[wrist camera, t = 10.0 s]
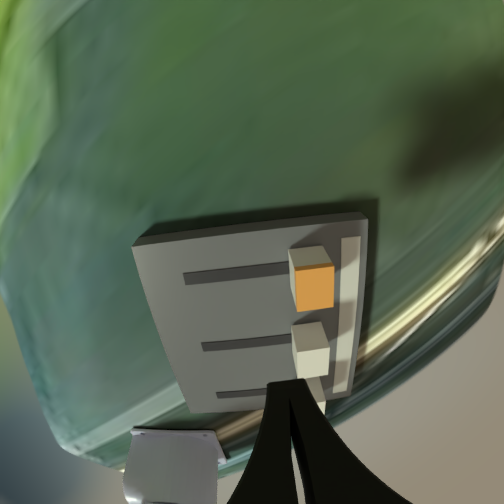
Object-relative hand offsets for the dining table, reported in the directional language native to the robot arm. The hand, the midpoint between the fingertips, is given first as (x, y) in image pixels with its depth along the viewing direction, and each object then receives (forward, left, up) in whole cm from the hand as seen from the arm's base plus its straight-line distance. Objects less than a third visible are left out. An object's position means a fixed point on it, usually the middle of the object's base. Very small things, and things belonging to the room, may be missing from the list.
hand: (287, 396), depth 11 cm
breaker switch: (+2, +1, -9) cm, 9 cm away
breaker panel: (-1, -5, -10) cm, 11 cm away
